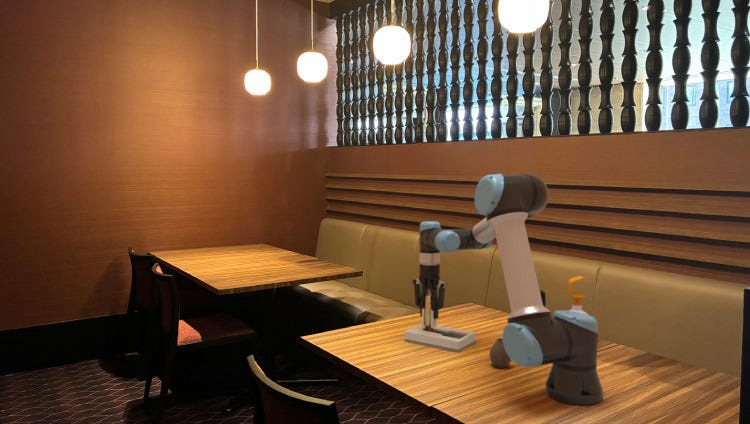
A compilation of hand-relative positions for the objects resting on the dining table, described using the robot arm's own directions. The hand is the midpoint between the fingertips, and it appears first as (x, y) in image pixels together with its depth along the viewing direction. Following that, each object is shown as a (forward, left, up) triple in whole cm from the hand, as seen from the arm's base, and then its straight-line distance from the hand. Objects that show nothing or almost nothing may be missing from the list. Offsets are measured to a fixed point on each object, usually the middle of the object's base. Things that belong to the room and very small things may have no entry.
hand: (429, 326), depth 209 cm
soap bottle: (+27, -46, -5) cm, 53 cm away
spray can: (+15, -35, -5) cm, 38 cm away
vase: (-11, -33, -5) cm, 35 cm away
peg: (0, 0, -4) cm, 4 cm away
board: (0, -5, -5) cm, 7 cm away
